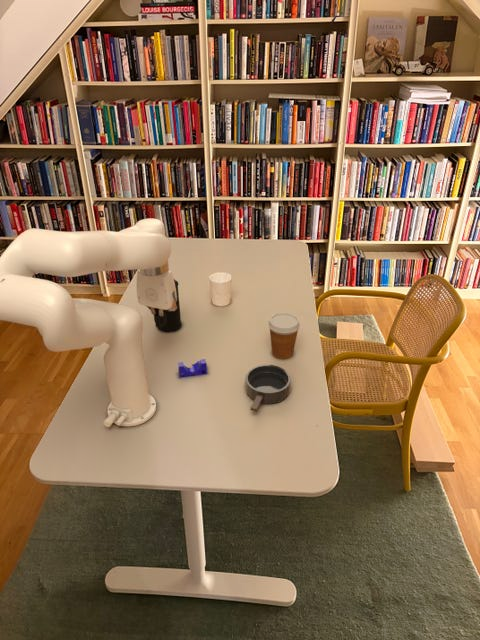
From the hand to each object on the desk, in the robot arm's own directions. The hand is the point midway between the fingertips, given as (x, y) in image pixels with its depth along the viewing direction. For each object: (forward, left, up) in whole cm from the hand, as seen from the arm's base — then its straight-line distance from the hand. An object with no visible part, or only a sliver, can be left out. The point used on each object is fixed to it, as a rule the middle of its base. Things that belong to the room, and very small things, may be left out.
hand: (161, 324), depth 136 cm
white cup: (+41, -1, -14) cm, 43 cm away
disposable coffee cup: (+18, -31, -14) cm, 38 cm away
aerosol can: (+20, +9, -14) cm, 26 cm away
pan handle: (-9, -32, -12) cm, 35 cm away
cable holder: (0, -9, -14) cm, 17 cm away
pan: (0, -32, -14) cm, 35 cm away
